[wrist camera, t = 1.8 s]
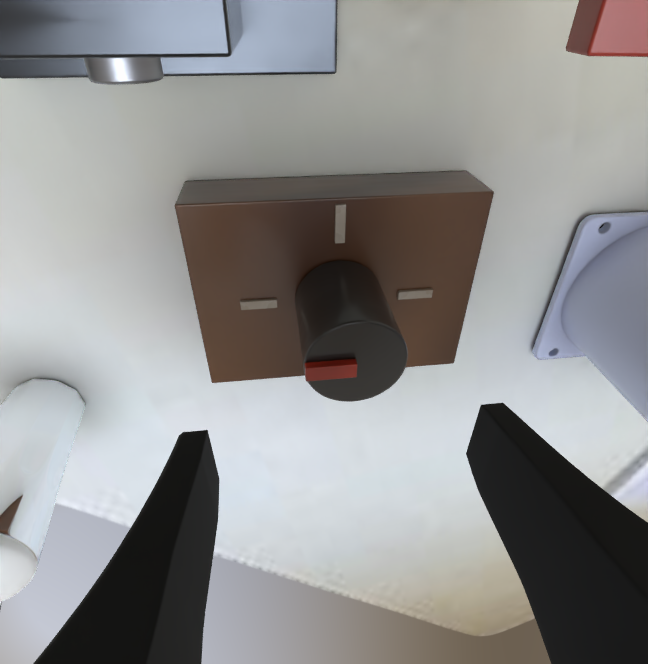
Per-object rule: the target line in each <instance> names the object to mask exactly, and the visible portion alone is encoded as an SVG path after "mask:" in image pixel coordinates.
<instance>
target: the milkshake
mask: <svg viewBox="0 0 648 664" xmlns="http://www.w3.org/2000/svg"><path fill="white" fill-rule="evenodd" d="M84 409H85V403H84V402H83V400H82V398H81V397H80V395H79V393H78V391H77V390H75V389H73V388H71V387H69V386H67V385H65V384H63V383H61V382H60V381H58V380H46V379H32V380H30V381H27V382H25V383H23V384H20V385H18V386H16V387H15V388H14V389H13V391H12V392H11V393H10V394H9V396H8V397H7V398H6V400H5V401H4V402H3V403H2V405H1V406H0V609H1V604H2V601H4V600H7V599H9V598H11V597H12V596H14V595H16V594H17V593H19V592H20V591H21V590H22V589H24V588H25V587H26V586H27V585H28V584H29V583H30V581H31V580H32V579H33V577H34V575H35V573H36V570H37V566H38V563H39V559H40V556H41V552H42V549H43V546H44V542H45V538H46V535H47V531H48V528H49V524H50V521H51V517H52V513H53V510H54V506H55V502H56V498H57V494H58V490H59V487H60V484H61V480H62V477H63V474H64V471H65V468H66V465H67V462H68V458H69V455H70V452H71V449H72V446H73V443H74V440H75V437H76V434H77V431H78V428H79V425H80V421H81V418H82V415H83V412H84Z"/></svg>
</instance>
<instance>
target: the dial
mask: <svg viewBox="0 0 648 664" xmlns="http://www.w3.org/2000/svg"><path fill="white" fill-rule="evenodd" d="M295 305H296V313H297V320H298V328H299V336H300V344H301V352H302V360H303V368H304V374H305V379H306V381H308V383H309V384H310V385H311V387H312V388H313V389H314V390H315V391H317V392H318V393H319V394H321V395H323V396H325V397H327V398H330V399H333V400H338V401H359V400H364V399H368V398H371V397H374V396H376V395H378V394H380V393H382V392H384V391H385V390H387V389H388V388H390V387H391V386H392V385H393V384H394V383H395V382H396V381H397V380H398V379H399V378H400V376H401V375H402V373H403V371H404V369H405V367H406V364H407V359H408V350H407V346H406V343H405V340H404V338H403V336H402V334H401V331H400V329H399V327H398V324H397V322H396V320H395V318H394V315H393V313H392V311H391V309H390V306H389V304H388V302H387V300H386V297H385V295H384V293H383V291H382V288H381V286H380V284H379V282H378V280H377V278H376V276H375V275H374V274H373V273H372V272H371V271H370V270H369V269H368V268H366V267H365V266H363V265H361V264H358V263H355V262H352V261H332V262H328V263H325V264H322V265H320V266H318V267H316V268H315V269H313V270H312V271H311V272H310V273H308V274H307V275H306V277H305V278H304V279H303V280H302V282H301V283H300V285H299V287H298V289H297V292H296V297H295Z"/></svg>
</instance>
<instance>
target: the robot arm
mask: <svg viewBox="0 0 648 664" xmlns="http://www.w3.org/2000/svg"><path fill="white" fill-rule="evenodd" d="M603 223H605V224H604V226H603V227H602V228H601V229H599V227H600V226H601V225H602V224H603ZM552 349H553V350H552ZM532 353H533V355H534V356H535V357H536V358H537V359H540V360H543V359H555V358H567V357H579V356H586V357H587V358H588V359H589V360H590V361H591V362H592V363H593V364H594V366H595V367H596V368H597V369H598V370H599V371H600V372H601V373H602V374H603V375H604V376H605V377H606V378H607V379H608V380H609V381H610V382H611V384H612V385H613V386H614V387H615V388H616V389H617V390H618V391H619V392H620V393H621V394H622V395H623V396H624V397H625V398H626V399H627V400H628V402H629V403H630V404H631V405H632V406H633V407H634V408H635V409H636V410H637V411H638V412H639V413H640V414H641V415H642V416H643V417H644V418H645V420H646V421H647V422H648V212H632V213H611V214H593V215H589V216H587V217H585V218H584V219H583V220H582V221H581V222H580V224H579V226H578V229H577V231H576V234H575V237H574V239H573V242H572V245H571V248H570V250H569V253H568V256H567V258H566V261H565V264H564V266H563V269H562V272H561V275H560V277H559V280H558V283H557V285H556V288H555V291H554V294H553V296H552V299H551V302H550V304H549V307H548V310H547V312H546V315H545V318H544V321H543V323H542V326H541V329H540V331H539V334H538V337H537V340H536V342H535V345H534V348H533V352H532ZM466 455H467V458H468V461H469V464H470V467H471V470H472V474H473V476H474V479H475V482H476V485H477V488H478V491H479V493H480V495H481V497H482V499H483V501H484V504H485V506H486V508H487V510H488V512H489V514H490V516H491V518H492V521H493V523H494V525H495V527H496V529H497V531H498V533H499V535H500V537H501V539H502V541H503V544H504V546H505V548H506V550H507V552H508V554H509V556H510V558H511V560H512V562H513V564H514V567H515V569H516V571H517V573H518V575H519V578H520V580H521V582H522V585H523V587H524V589H525V592H526V594H527V597H528V600H529V603H530V605H531V608H532V611H533V613H534V616H535V619H536V621H537V624H538V626H539V629H540V632H541V635H542V638H543V641H544V644H545V647H546V650H547V652H548V655H549V658H550V661H551V664H648V523H647V522H646V521H645V520H643V519H642V518H640V517H639V516H637V515H636V514H635V513H633V512H632V511H631V510H629V509H628V508H626V507H625V506H624V505H622V504H621V503H620V502H618V501H617V500H616V499H615V498H613V497H612V496H611V495H609V494H608V493H607V492H606V491H604V490H603V489H602V488H601V487H599V486H598V485H597V484H595V483H594V482H593V481H592V480H590V479H589V478H588V477H587V476H586V475H584V474H583V473H582V472H581V471H580V470H578V469H577V468H576V467H575V466H574V465H572V464H571V463H570V462H569V461H568V460H567V459H565V458H564V457H563V456H562V455H561V454H560V453H558V452H557V451H556V450H555V449H554V448H553V447H552V446H550V445H549V444H548V443H547V442H546V441H545V440H544V439H543V438H541V437H540V436H539V435H538V434H537V433H536V432H535V431H534V430H533V429H531V428H530V427H529V426H528V425H527V424H526V423H525V422H524V421H523V420H522V419H520V418H519V417H518V416H517V415H516V414H515V413H514V412H513V411H512V410H510V409H509V408H508V407H507V406H506V405H505V404H504V403H496V404H485V405H481V407H480V410H479V413H478V417H477V420H476V423H475V426H474V430H473V433H472V436H471V440H470V443H469V446H468V449H467V453H466ZM218 505H219V476H218V472H217V468H216V464H215V459H214V455H213V451H212V447H211V443H210V439H209V435H208V430H203V431H192V432H183V433H182V434H181V435H179V437H178V439H177V442H176V444H175V446H174V449H173V451H172V453H171V455H170V457H169V459H168V461H167V463H166V465H165V467H164V469H163V471H162V473H161V475H160V477H159V479H158V481H157V483H156V485H155V487H154V488H153V490H152V492H151V494H150V496H149V497H148V499H147V501H146V503H145V505H144V506H143V508H142V510H141V512H140V514H139V515H138V517H137V519H136V520H135V522H134V524H133V525H132V527H131V528H130V530H129V532H128V533H127V535H126V537H125V538H124V540H123V541H122V543H121V545H120V546H119V548H118V549H117V551H116V553H115V554H114V556H113V557H112V559H111V560H110V562H109V563H108V565H107V566H106V568H105V569H104V571H103V572H102V574H101V575H100V577H99V578H98V579H97V581H96V582H95V584H94V585H93V587H92V588H91V589H90V591H89V592H88V594H87V595H86V596H85V598H84V599H83V601H82V602H81V603H80V605H79V606H78V607H77V609H76V610H75V611H74V613H73V614H72V615H71V617H70V618H69V619H68V620H67V622H66V623H65V624H64V626H63V627H62V628H61V630H60V631H59V632H58V633H57V635H56V636H55V637H54V639H53V640H52V642H50V644H49V645H48V646H47V648H46V649H45V650H44V651H43V653H42V654H41V655H40V656H39V657H38V659H37V660H36V661H35V662H34V664H201V658H202V640H203V627H204V617H205V609H206V602H207V594H208V587H209V580H210V573H211V566H212V559H213V552H214V545H215V537H216V530H217V522H218Z"/></svg>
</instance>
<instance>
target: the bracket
mask: <svg viewBox="0 0 648 664" xmlns="http://www.w3.org/2000/svg"><path fill="white" fill-rule="evenodd" d="M336 65H337V0H0V78H70V77H89V79H90V81H91V82H94V83H98V84H139V83H149V82H155V81H159V80H161V79H163V77H164V76H214V75H286V74H335V73H336Z"/></svg>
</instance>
